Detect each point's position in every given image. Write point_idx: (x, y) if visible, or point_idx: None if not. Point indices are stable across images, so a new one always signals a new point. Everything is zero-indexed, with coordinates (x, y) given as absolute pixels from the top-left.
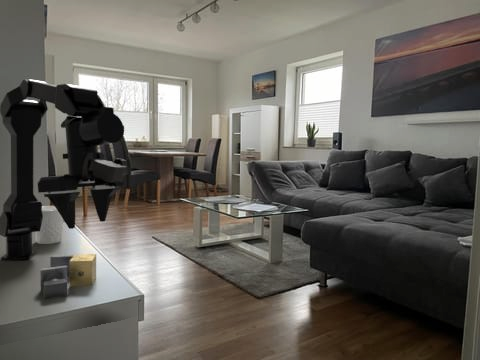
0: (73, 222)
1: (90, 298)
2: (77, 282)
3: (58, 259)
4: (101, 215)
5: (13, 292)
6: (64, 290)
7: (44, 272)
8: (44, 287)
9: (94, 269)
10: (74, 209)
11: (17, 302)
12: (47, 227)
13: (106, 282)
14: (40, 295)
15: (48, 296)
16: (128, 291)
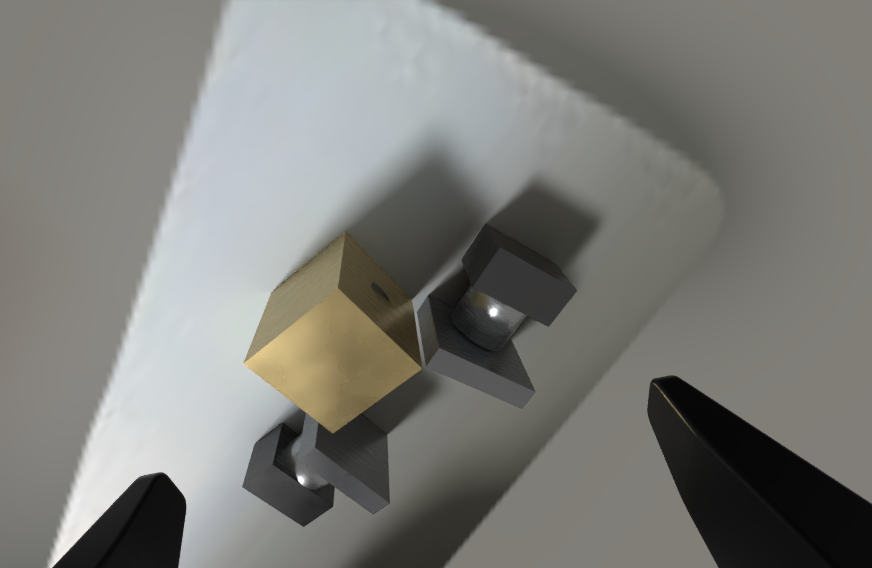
0: (721, 411)
1: (452, 114)
2: (391, 284)
3: (365, 474)
4: (150, 555)
5: (558, 395)
6: (501, 238)
7: (518, 378)
8: (572, 286)
9: (295, 293)
10: (850, 564)
11: (612, 315)
12: None
13: (275, 207)
14: None
15: (547, 261)
16: (274, 6)
